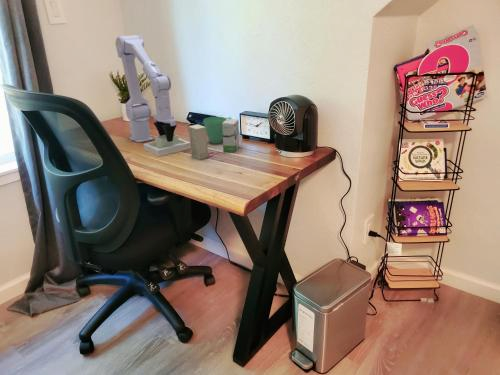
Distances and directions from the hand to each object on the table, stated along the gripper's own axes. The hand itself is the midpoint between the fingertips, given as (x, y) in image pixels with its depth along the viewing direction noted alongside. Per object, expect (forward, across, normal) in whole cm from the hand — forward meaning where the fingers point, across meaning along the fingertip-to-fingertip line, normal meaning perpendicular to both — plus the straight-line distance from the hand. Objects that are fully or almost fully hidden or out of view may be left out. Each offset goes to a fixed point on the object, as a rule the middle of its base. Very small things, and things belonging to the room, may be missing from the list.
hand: (166, 139), depth 161 cm
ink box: (+4, -19, -19) cm, 27 cm away
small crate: (+2, 0, 0) cm, 2 cm away
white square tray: (+4, 0, 0) cm, 4 cm away
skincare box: (+4, -18, -4) cm, 19 cm away
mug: (+4, -6, -23) cm, 24 cm away
